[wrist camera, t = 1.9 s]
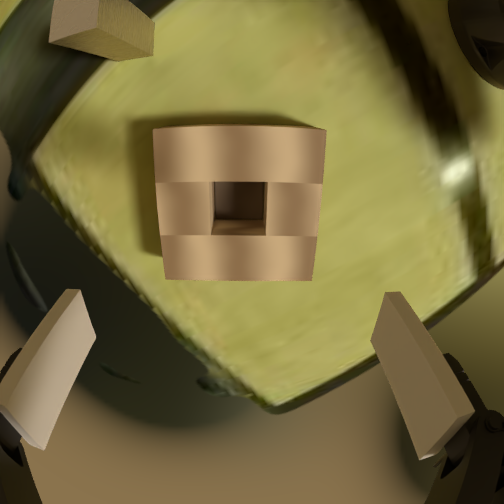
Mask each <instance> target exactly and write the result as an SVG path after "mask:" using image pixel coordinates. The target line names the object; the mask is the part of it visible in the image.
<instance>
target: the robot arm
mask: <svg viewBox="0 0 504 504" xmlns="http://www.w3.org/2000/svg"><path fill="white" fill-rule="evenodd" d="M448 8H449V16H450V20H451V24H452V28H453V30H454V33H455V36H456V38H457V41H458V43H459V45H460V47H461V49H462V51H463V52H464V54H465V56H466V57H467V59H468V60H469V62H470V63H471V65H472V66H473V67H474V69H475V70H476V71H477V72H478V73H479V74H480V75H481V77H483V78H484V79H485V80H486V81H487V82H488V83H490V84H491V85H493V86H495V87H497V88H499V89H504V0H449V1H448ZM95 339H96V335H95V333H94V330H93V327H92V324H91V321H90V318H89V316H88V313H87V310H86V307H85V303H84V300H83V298H82V294H81V291H80V290H76V289H66V291H65V292H64V293H63V294H62V296H61V297H60V298H59V299H58V301H57V302H56V303H55V304H54V306H53V307H52V309H51V310H50V311H49V312H48V314H47V315H46V316H45V318H44V319H43V320H42V322H41V323H40V325H39V326H38V327H37V329H36V330H35V331H34V333H33V334H32V336H31V337H30V338H29V340H28V341H27V343H26V344H25V346H24V347H23V348H19V349H18V350H17V351H16V352H14V353H13V354H12V355H11V356H10V358H9V359H8V361H7V362H6V364H5V366H4V367H3V368H2V370H1V371H0V372H1V373H0V504H42V501H41V499H40V496H39V494H38V491H37V488H36V486H35V483H34V480H33V477H32V474H31V471H30V468H29V465H28V462H27V458H26V455H25V452H24V448H23V446H22V444H21V443H20V439H21V437H23V438H24V439H25V440H26V441H27V442H28V443H29V444H30V445H32V446H34V447H37V448H39V449H42V450H45V447H46V445H47V442H48V440H49V437H50V435H51V432H52V430H53V427H54V425H55V423H56V420H57V418H58V416H59V413H60V411H61V409H62V406H63V404H64V402H65V400H66V398H67V395H68V393H69V391H70V389H71V387H72V384H73V383H74V380H75V378H76V376H77V374H78V372H79V370H80V368H81V366H82V364H83V362H84V360H85V358H86V356H87V354H88V352H89V350H90V348H91V346H92V344H93V342H94V341H95ZM370 341H371V343H372V345H373V347H374V349H375V352H376V354H377V356H378V358H379V361H380V363H381V365H382V367H383V370H384V372H385V374H386V376H387V379H388V381H389V383H390V386H391V388H392V391H393V393H394V396H395V398H396V400H397V403H398V405H399V407H400V410H401V413H402V415H403V418H404V420H405V423H406V426H407V428H408V431H409V433H410V436H411V439H412V441H413V444H414V447H415V449H416V452H417V455H418V458H419V460H421V459H424V458H427V457H430V456H433V455H436V454H437V453H438V452H439V451H440V450H441V449H442V448H443V447H445V449H446V453H445V454H444V455H443V456H442V457H441V458H440V459H439V460H438V461H437V462H436V463H435V465H434V467H437V466H438V465H439V464H440V463H441V465H440V467H439V470H438V472H437V475H436V478H435V480H434V483H433V485H432V487H431V490H430V492H429V494H428V497H427V499H426V501H425V503H424V504H504V417H503V416H502V415H501V414H500V413H498V412H496V411H494V410H487V409H486V407H485V405H484V403H483V402H482V400H481V398H480V396H479V395H478V393H477V391H476V390H475V388H474V386H473V384H472V383H471V381H469V378H468V376H467V375H466V373H464V370H463V368H462V367H461V365H460V363H459V362H458V361H457V360H456V359H455V358H454V357H453V356H452V355H450V354H449V353H447V354H442V353H441V352H440V350H439V348H438V347H437V345H436V344H435V342H434V341H433V339H432V337H431V336H430V334H429V333H428V331H427V330H426V328H425V327H424V325H423V324H422V322H421V321H420V319H419V318H418V316H417V315H416V314H415V312H414V311H413V309H412V308H411V306H410V305H409V303H408V302H407V301H406V299H405V298H404V296H403V295H402V294H401V292H385V295H384V298H383V302H382V305H381V309H380V312H379V315H378V319H377V322H376V325H375V328H374V331H373V334H372V337H371V340H370Z"/></svg>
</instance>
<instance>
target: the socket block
mask: <svg viewBox="0 0 504 504" xmlns="http://www.w3.org/2000/svg"><path fill="white" fill-rule="evenodd" d="M325 146H326V130H324V129H320V128H316V127H305V126H289V125H265V124H203V125H180V126H165V127H160V128H156V129H153V149H154V168H155V184H156V197H157V209H158V219H159V229H160V238H161V247H162V255H163V263H164V271H165V278H166V279H169V280H222V281H312V275H313V267H314V260H315V252H316V243H317V235H318V226H319V216H320V206H321V196H322V185H323V173H324V160H325ZM214 182H215V202H214ZM264 182H265V186H264ZM263 188H264V215H263ZM215 210H216V219H215ZM233 219H259V220H233ZM262 219H263V220H262Z"/></svg>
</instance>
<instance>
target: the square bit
mask: <svg viewBox="0 0 504 504" xmlns="http://www.w3.org/2000/svg"><path fill="white" fill-rule="evenodd" d="M154 29H155V23H154V22H153V21H152V20H151V19H150V18H148V17H147V16H146V15H145V14H144V13H143V12H141V11H140V10H139V9H138V8H137V7H135V6H134V5H133V4H132V3H131V2H129V1H128V0H54V5H53V11H52V18H51V26H50V35H49V43H52V44H56V45H61V46H65V47H69V48H73V49H77V50H81V51H84V52H88V53H92V54H95V55H99V56H102V57H105V58H109V59H112V60H115V61H118V62H119V61H124V60H130V59H136V58H143V57H150V56H153V49H154Z"/></svg>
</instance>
